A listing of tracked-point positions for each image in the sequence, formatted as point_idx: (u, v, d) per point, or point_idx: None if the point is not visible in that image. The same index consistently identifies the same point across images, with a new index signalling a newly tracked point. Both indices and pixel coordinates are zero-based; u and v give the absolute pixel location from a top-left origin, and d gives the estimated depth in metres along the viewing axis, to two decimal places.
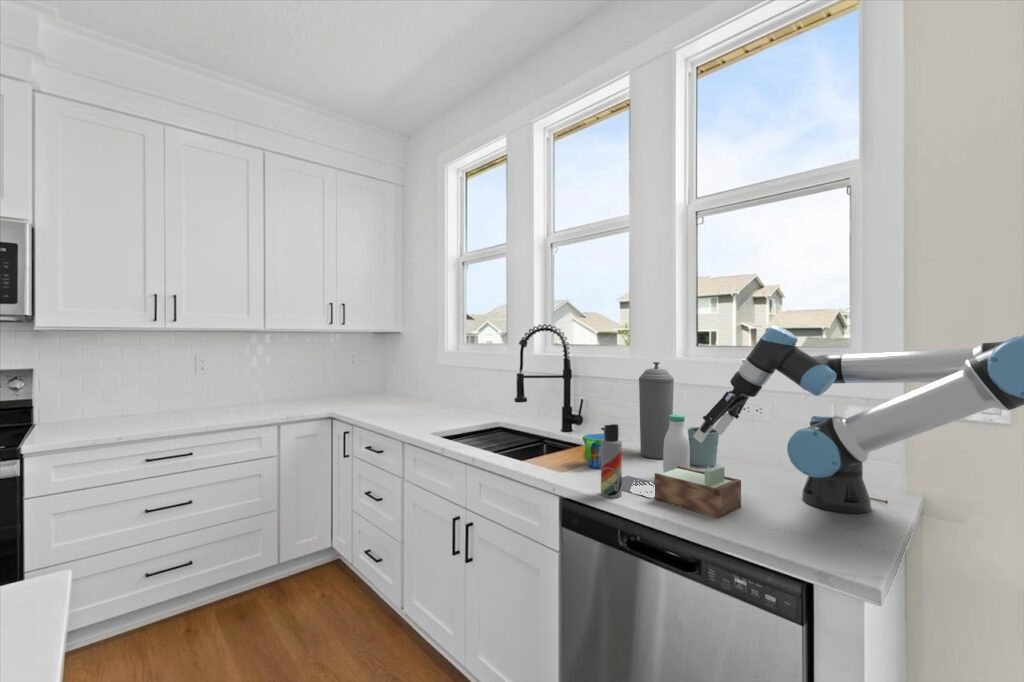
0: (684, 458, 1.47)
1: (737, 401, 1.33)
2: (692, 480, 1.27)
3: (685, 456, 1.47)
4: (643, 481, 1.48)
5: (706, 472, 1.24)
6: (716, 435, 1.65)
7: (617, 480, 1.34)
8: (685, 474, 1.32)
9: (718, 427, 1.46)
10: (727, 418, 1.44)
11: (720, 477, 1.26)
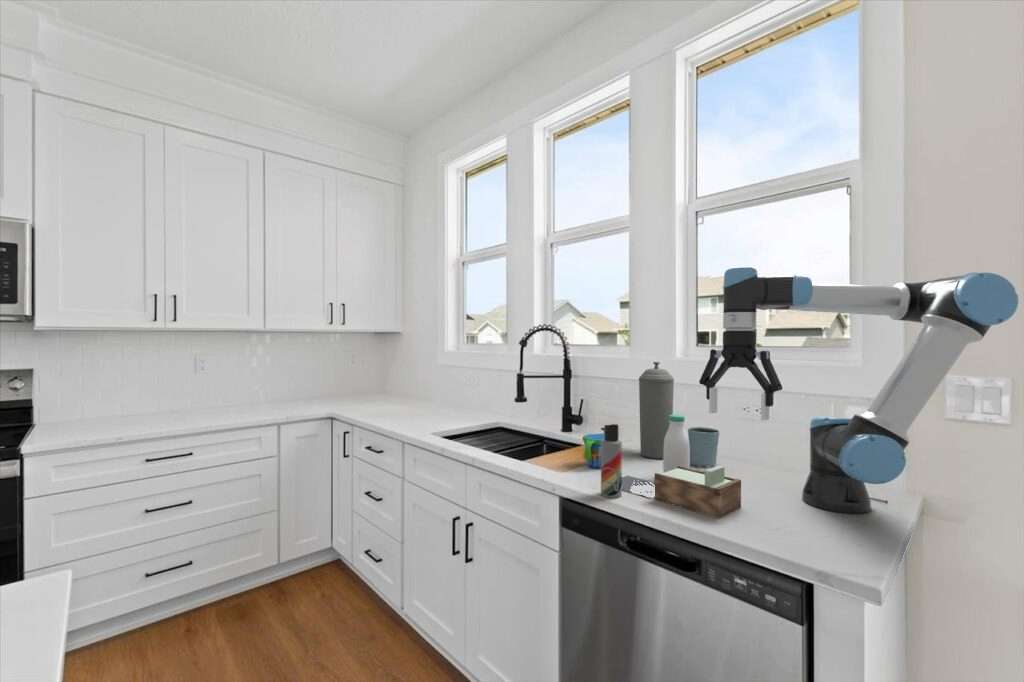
0: (684, 458, 1.47)
1: None
2: (692, 480, 1.27)
3: (685, 456, 1.47)
4: (643, 481, 1.48)
5: (706, 472, 1.24)
6: (716, 435, 1.65)
7: (617, 480, 1.34)
8: (685, 474, 1.32)
9: (714, 408, 1.26)
10: (715, 392, 1.26)
11: (720, 477, 1.26)
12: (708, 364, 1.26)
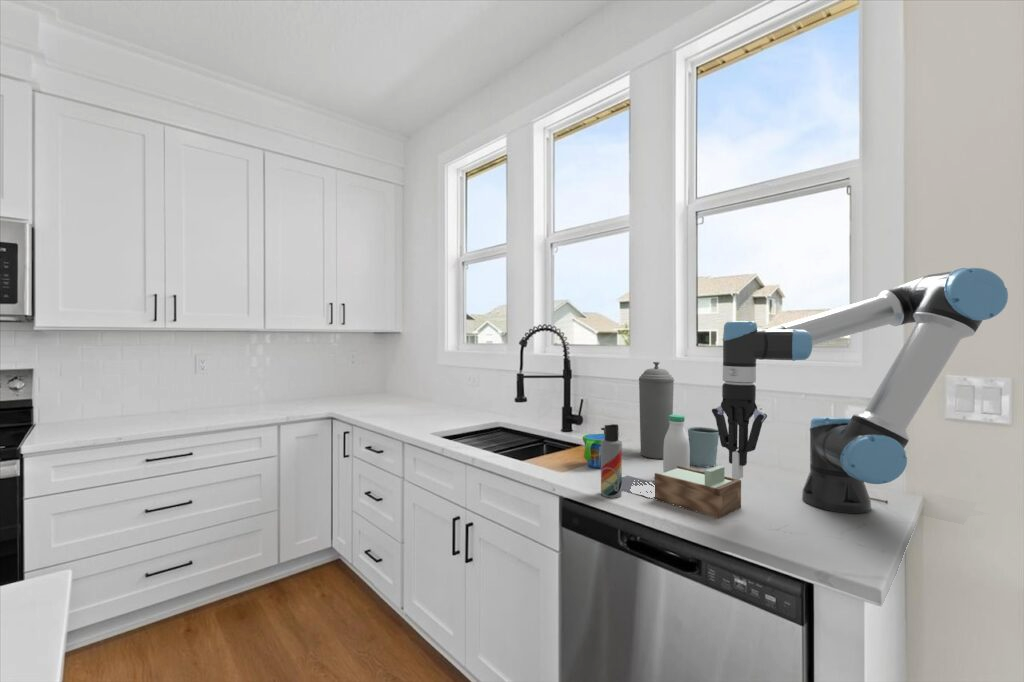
0: (684, 458, 1.47)
1: None
2: (692, 480, 1.27)
3: (685, 456, 1.47)
4: (643, 481, 1.48)
5: (706, 472, 1.24)
6: (716, 435, 1.65)
7: (617, 480, 1.34)
8: (685, 474, 1.32)
9: None
10: None
11: (720, 477, 1.26)
12: (718, 424, 1.23)
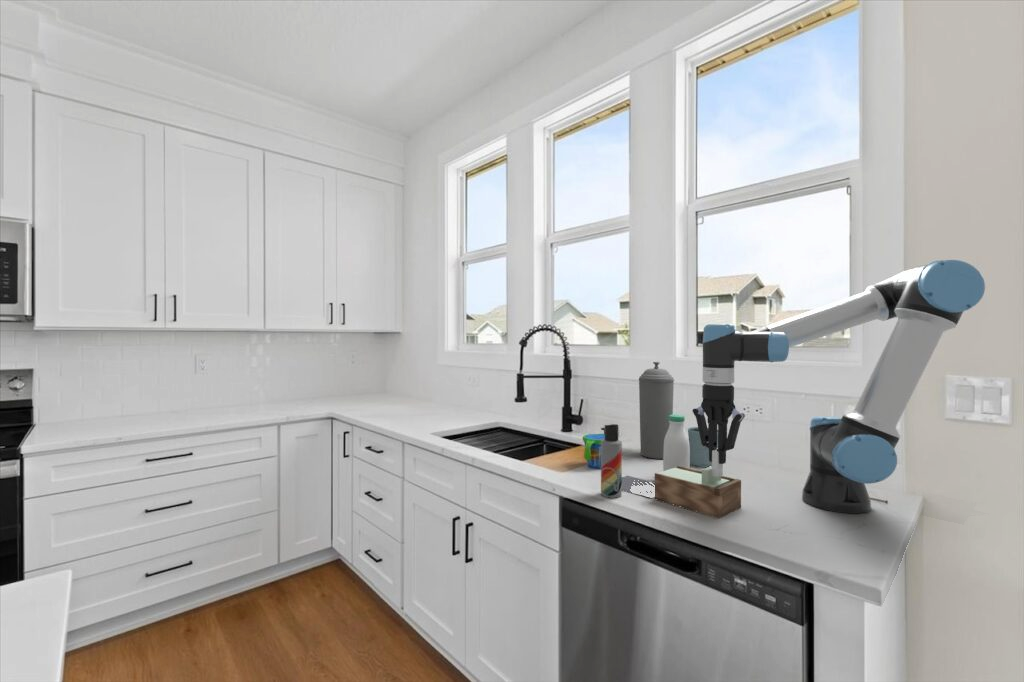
0: (684, 458, 1.47)
1: None
2: (689, 479, 1.28)
3: (685, 456, 1.47)
4: (643, 481, 1.48)
5: (703, 471, 1.24)
6: None
7: (617, 480, 1.34)
8: (682, 474, 1.33)
9: None
10: None
11: None
12: (698, 424, 1.27)
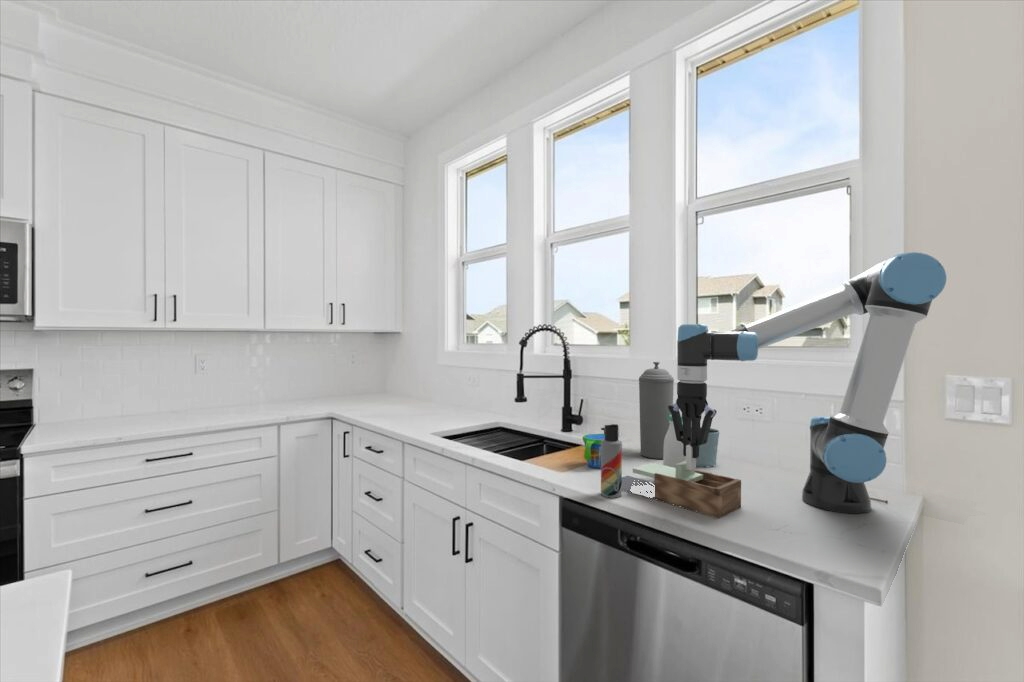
0: (684, 458, 1.47)
1: None
2: (664, 473, 1.33)
3: (685, 456, 1.47)
4: (643, 481, 1.48)
5: (677, 466, 1.29)
6: (716, 435, 1.65)
7: (617, 480, 1.34)
8: (658, 468, 1.38)
9: None
10: None
11: (691, 471, 1.32)
12: (673, 420, 1.33)
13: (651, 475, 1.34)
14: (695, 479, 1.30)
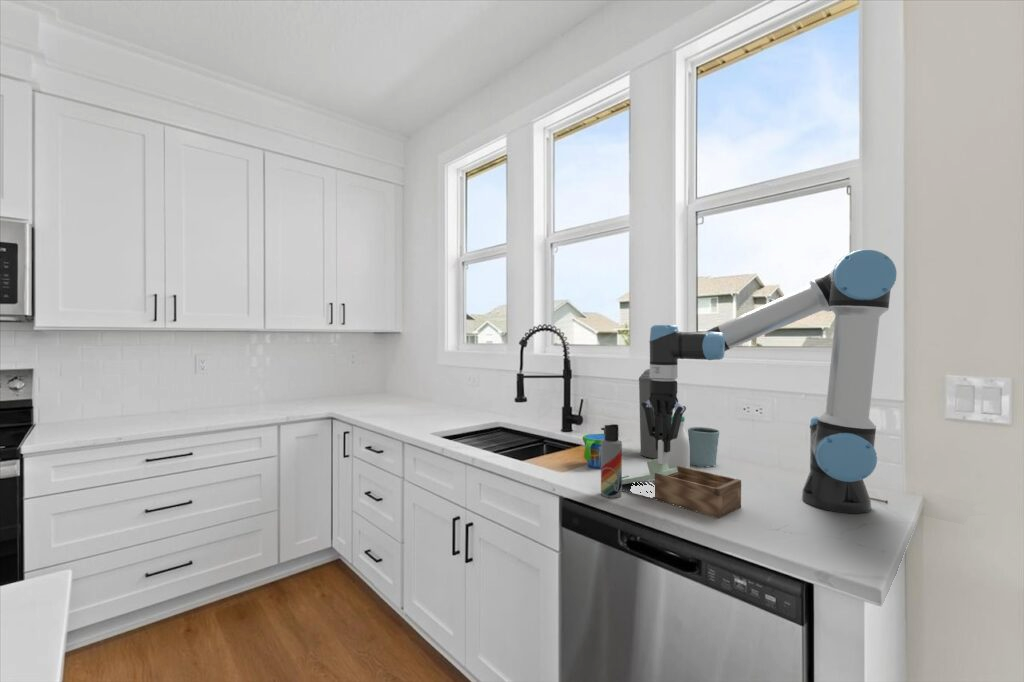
0: (684, 458, 1.47)
1: None
2: None
3: (685, 456, 1.47)
4: (643, 481, 1.48)
5: (648, 463, 1.36)
6: (716, 435, 1.65)
7: (617, 480, 1.34)
8: (637, 475, 1.44)
9: None
10: None
11: (664, 466, 1.38)
12: (647, 416, 1.39)
13: (629, 481, 1.39)
14: (669, 472, 1.36)
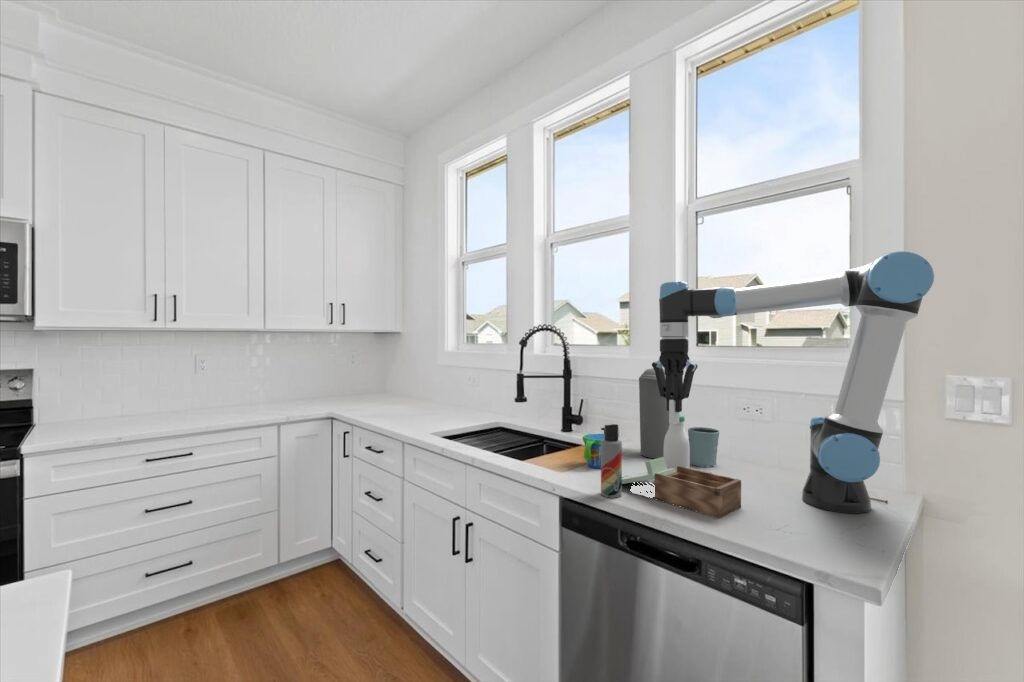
0: (684, 458, 1.47)
1: None
2: (639, 476, 1.39)
3: (685, 456, 1.47)
4: (643, 481, 1.48)
5: (646, 463, 1.37)
6: (716, 435, 1.65)
7: (617, 480, 1.34)
8: (635, 475, 1.44)
9: None
10: None
11: (662, 466, 1.39)
12: (657, 376, 1.37)
13: (628, 480, 1.40)
14: (667, 472, 1.36)
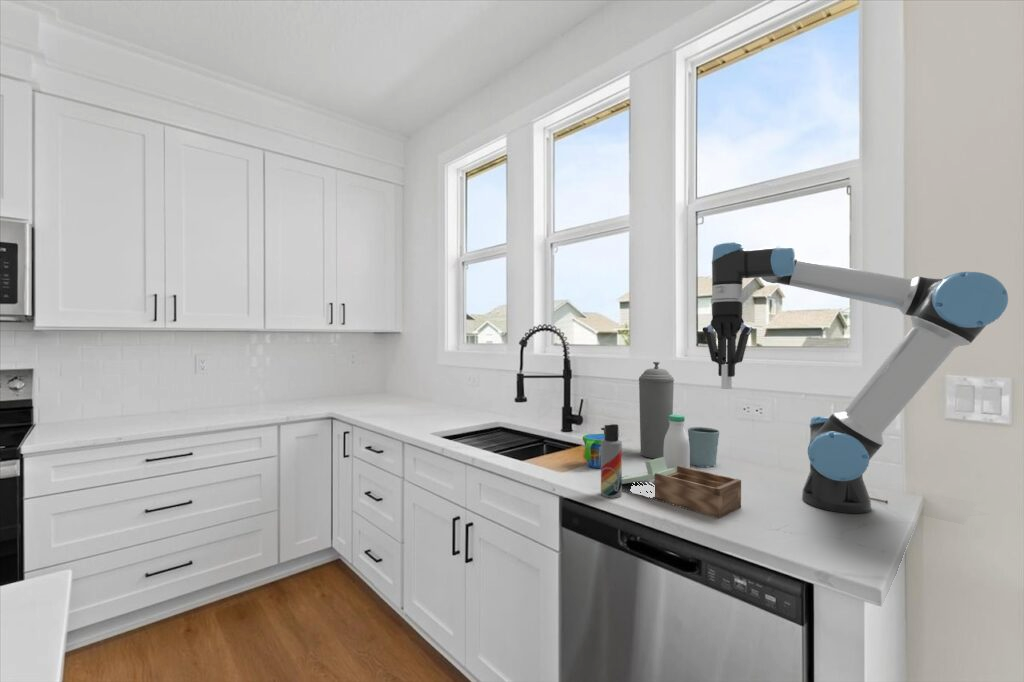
0: (684, 458, 1.47)
1: None
2: (639, 476, 1.39)
3: (685, 456, 1.47)
4: (643, 481, 1.48)
5: (646, 463, 1.37)
6: (716, 435, 1.65)
7: (617, 480, 1.34)
8: (635, 475, 1.44)
9: None
10: None
11: (662, 466, 1.39)
12: (708, 341, 1.34)
13: (628, 480, 1.40)
14: (667, 472, 1.36)
